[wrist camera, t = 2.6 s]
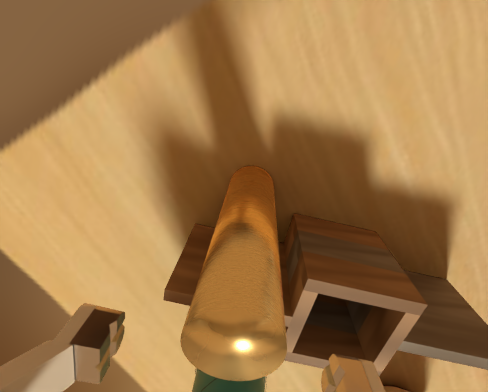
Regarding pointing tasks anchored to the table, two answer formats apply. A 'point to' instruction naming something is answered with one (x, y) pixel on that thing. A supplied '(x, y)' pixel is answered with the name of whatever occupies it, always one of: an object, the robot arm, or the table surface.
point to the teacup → (393, 389)
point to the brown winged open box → (353, 299)
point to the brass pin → (240, 287)
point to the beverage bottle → (225, 384)
